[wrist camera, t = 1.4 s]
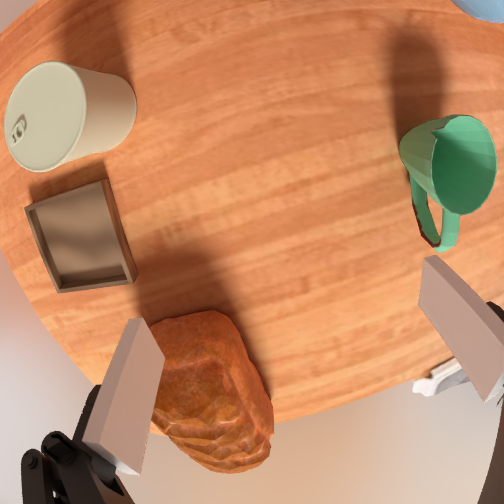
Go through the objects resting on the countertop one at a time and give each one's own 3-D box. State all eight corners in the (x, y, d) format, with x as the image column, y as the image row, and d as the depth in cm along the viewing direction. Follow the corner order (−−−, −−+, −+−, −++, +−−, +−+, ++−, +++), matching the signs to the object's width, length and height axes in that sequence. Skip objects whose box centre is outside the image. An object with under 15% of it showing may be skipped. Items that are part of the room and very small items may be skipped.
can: (58, 101, 25) (-10, 104, 14) (121, 59, 24) (64, 36, 13) (83, 166, 29) (21, 194, 18) (149, 128, 28) (100, 136, 17)
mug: (381, 105, 27) (432, 105, 18) (445, 117, 27) (500, 125, 18) (374, 225, 34) (415, 264, 25) (434, 224, 34) (480, 257, 25)
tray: (33, 202, 30) (24, 207, 28) (108, 177, 29) (100, 181, 28) (64, 285, 35) (57, 293, 33) (138, 274, 35) (133, 283, 33)
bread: (229, 299, 37) (227, 397, 23) (277, 407, 49) (286, 479, 35) (138, 321, 38) (105, 409, 25) (207, 419, 50) (204, 488, 36)
